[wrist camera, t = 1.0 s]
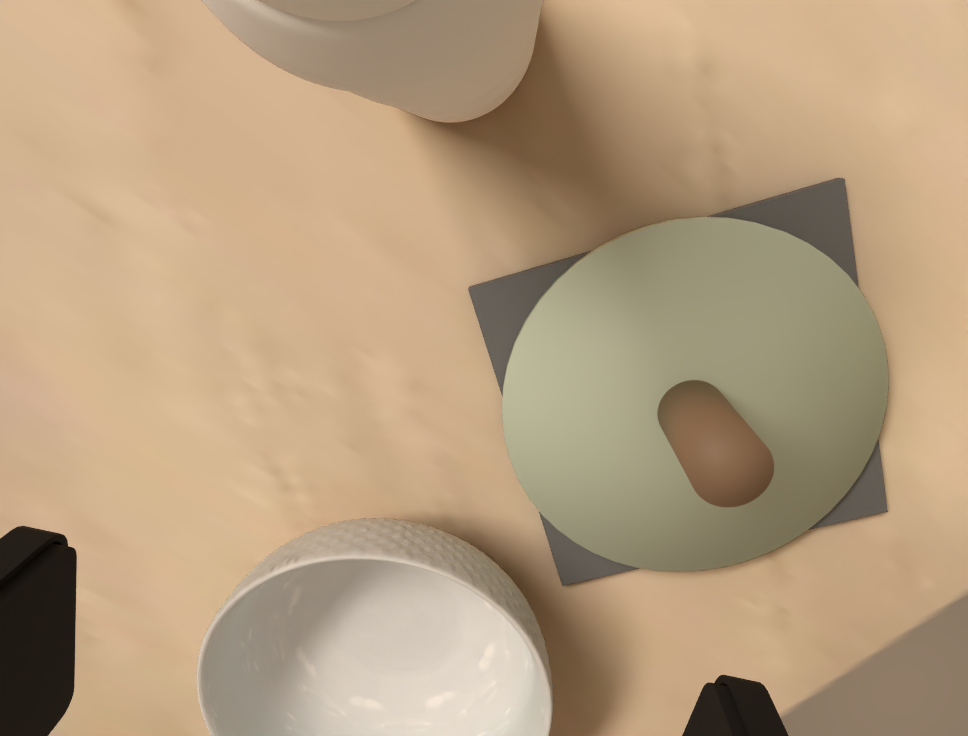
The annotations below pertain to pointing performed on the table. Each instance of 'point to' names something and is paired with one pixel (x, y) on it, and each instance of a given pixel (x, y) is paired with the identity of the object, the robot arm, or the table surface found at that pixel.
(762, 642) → the table surface
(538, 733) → the cereal bowl
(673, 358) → the lid
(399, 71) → the water bottle
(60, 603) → the robot arm
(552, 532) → the mat
